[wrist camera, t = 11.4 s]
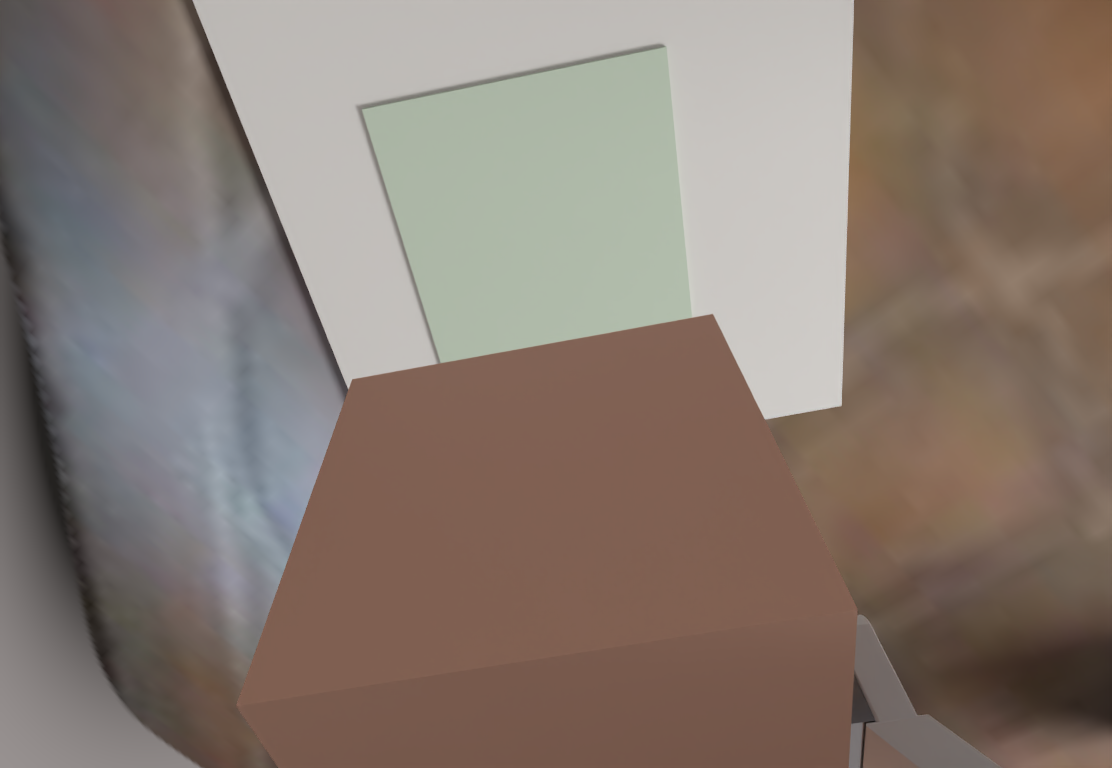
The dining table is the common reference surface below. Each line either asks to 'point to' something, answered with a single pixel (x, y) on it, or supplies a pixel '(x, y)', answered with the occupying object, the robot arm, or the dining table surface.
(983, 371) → the dining table surface
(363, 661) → the terracotta block
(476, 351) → the white mat
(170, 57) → the dining table surface
